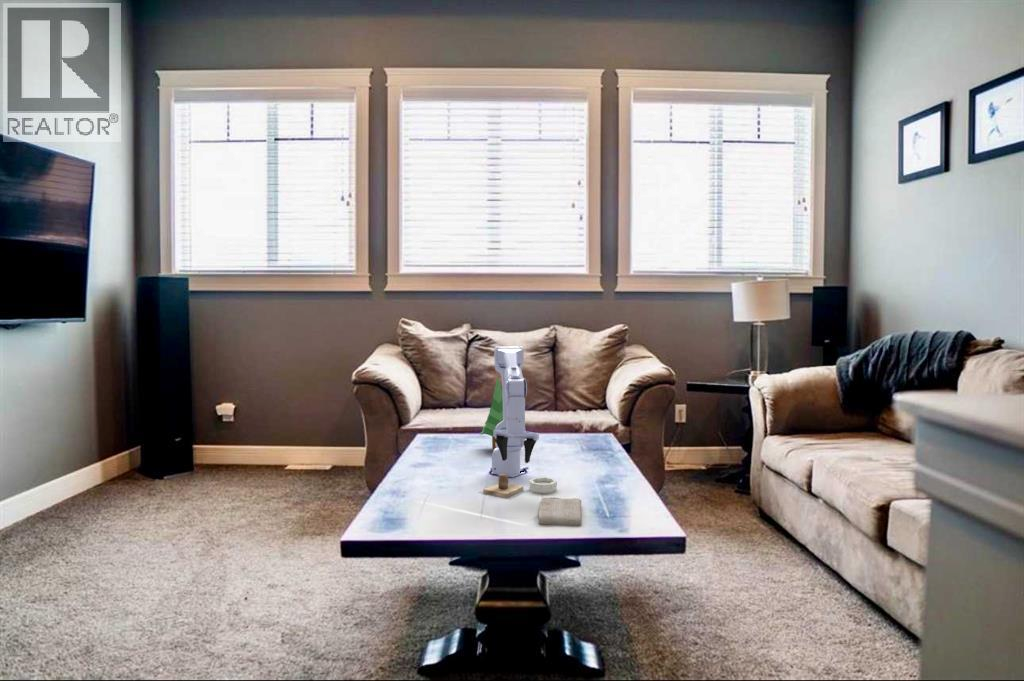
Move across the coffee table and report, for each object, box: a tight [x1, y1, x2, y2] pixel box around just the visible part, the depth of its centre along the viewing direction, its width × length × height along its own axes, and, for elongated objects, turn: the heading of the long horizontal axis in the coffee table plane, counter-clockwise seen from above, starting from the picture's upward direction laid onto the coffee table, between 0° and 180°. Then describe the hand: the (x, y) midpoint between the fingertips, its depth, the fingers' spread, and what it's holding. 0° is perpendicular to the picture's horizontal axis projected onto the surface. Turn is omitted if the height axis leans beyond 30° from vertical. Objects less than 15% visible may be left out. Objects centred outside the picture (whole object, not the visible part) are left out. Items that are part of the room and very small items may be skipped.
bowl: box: [528, 476, 558, 494], centre depth 201 cm, size 8×8×3 cm
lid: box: [482, 474, 524, 499], centre depth 198 cm, size 9×9×5 cm
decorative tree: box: [479, 375, 507, 451], centre depth 255 cm, size 14×16×30 cm
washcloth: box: [538, 497, 583, 526], centre depth 179 cm, size 12×18×3 cm, turn 175°
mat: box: [478, 489, 529, 500], centre depth 198 cm, size 12×10×1 cm
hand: (515, 461), depth 199 cm, fingers open, 7 cm apart
